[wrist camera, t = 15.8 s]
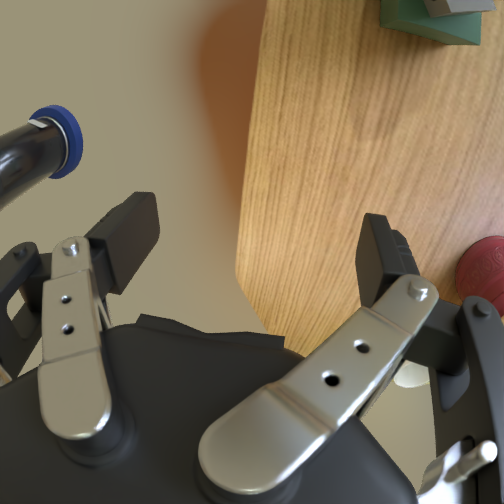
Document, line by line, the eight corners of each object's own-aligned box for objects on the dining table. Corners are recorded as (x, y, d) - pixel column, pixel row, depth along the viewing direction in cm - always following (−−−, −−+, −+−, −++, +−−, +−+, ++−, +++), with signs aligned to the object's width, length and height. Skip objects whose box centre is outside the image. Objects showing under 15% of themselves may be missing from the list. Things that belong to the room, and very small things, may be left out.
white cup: (424, 341, 52) (434, 384, 44) (385, 345, 54) (390, 390, 46) (431, 311, 48) (444, 356, 40) (388, 316, 50) (396, 363, 42)
